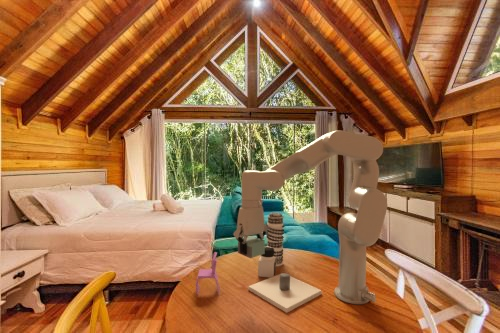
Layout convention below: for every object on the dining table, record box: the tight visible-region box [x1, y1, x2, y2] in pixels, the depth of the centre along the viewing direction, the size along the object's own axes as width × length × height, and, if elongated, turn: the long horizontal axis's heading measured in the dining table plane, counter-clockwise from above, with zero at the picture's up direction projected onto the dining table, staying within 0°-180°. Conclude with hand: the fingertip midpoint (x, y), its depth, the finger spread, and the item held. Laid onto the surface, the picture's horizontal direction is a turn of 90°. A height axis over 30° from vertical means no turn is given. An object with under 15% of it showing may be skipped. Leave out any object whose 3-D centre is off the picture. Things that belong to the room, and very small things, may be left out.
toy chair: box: [195, 251, 220, 297], centre depth 102 cm, size 8×9×15 cm
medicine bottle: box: [257, 245, 277, 279], centre depth 118 cm, size 7×7×12 cm
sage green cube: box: [237, 235, 266, 259], centre depth 97 cm, size 7×7×5 cm
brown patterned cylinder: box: [265, 212, 286, 267], centre depth 131 cm, size 9×9×25 cm
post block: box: [247, 272, 322, 314], centre depth 102 cm, size 20×20×6 cm
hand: (251, 251), depth 97 cm, fingers closed on sage green cube, 7 cm apart
